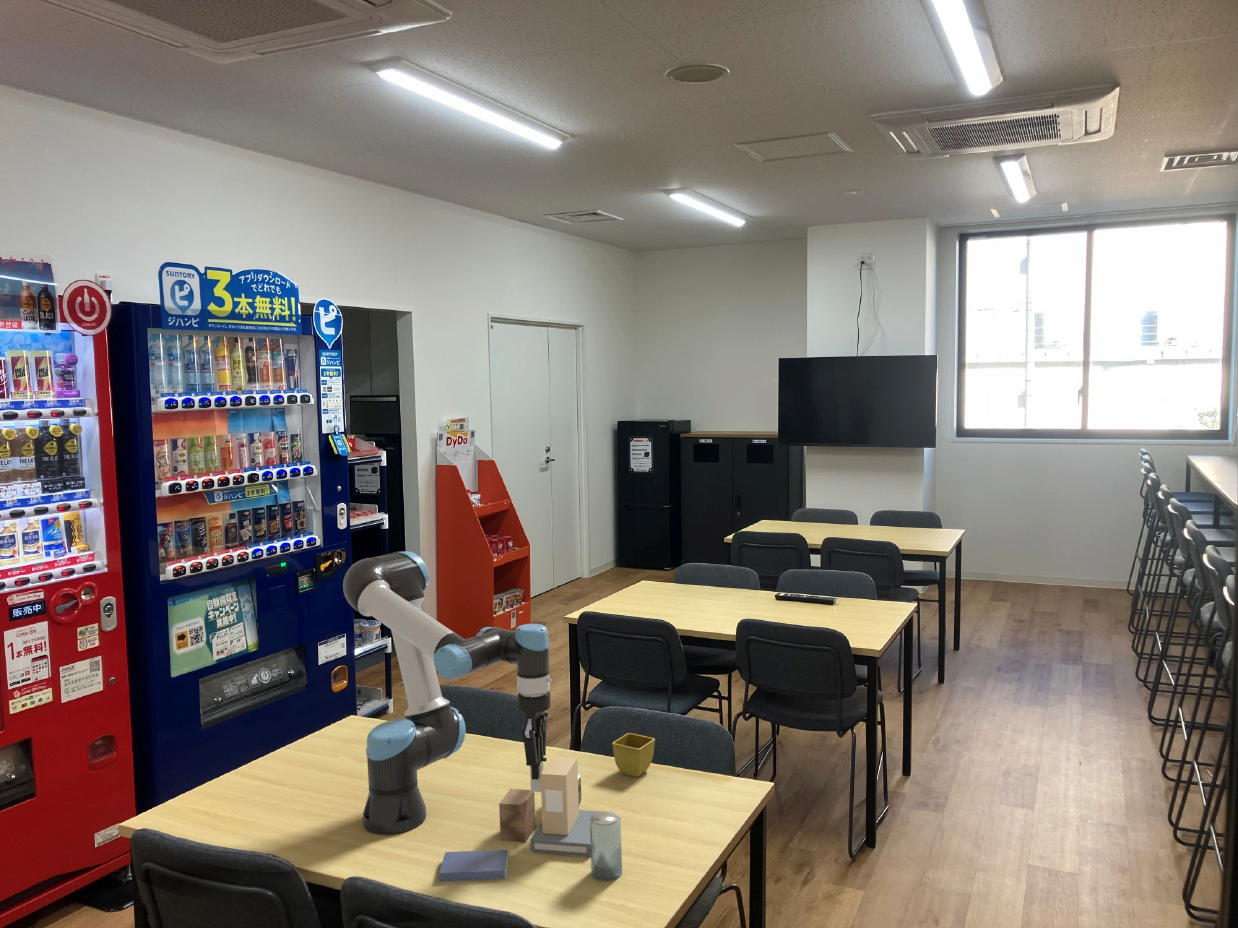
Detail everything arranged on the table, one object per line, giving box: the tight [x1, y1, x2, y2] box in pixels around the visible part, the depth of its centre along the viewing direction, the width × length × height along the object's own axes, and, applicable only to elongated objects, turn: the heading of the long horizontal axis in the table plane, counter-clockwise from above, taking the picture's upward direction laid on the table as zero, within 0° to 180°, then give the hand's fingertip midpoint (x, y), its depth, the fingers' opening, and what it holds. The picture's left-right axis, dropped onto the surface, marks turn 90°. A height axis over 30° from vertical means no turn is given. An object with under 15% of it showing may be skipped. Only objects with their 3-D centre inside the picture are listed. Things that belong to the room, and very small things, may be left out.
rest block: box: [498, 788, 536, 844], centre depth 216 cm, size 6×8×9 cm
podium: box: [529, 809, 603, 858], centre depth 214 cm, size 14×16×3 cm
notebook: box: [438, 849, 510, 883], centre depth 201 cm, size 14×9×2 cm, turn 92°
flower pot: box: [611, 732, 656, 778], centre depth 249 cm, size 9×9×9 cm
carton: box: [540, 756, 580, 835], centre depth 214 cm, size 6×10×14 cm, turn 168°
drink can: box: [590, 811, 623, 882], centre depth 197 cm, size 7×7×12 cm
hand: (537, 790), depth 215 cm, fingers closed
